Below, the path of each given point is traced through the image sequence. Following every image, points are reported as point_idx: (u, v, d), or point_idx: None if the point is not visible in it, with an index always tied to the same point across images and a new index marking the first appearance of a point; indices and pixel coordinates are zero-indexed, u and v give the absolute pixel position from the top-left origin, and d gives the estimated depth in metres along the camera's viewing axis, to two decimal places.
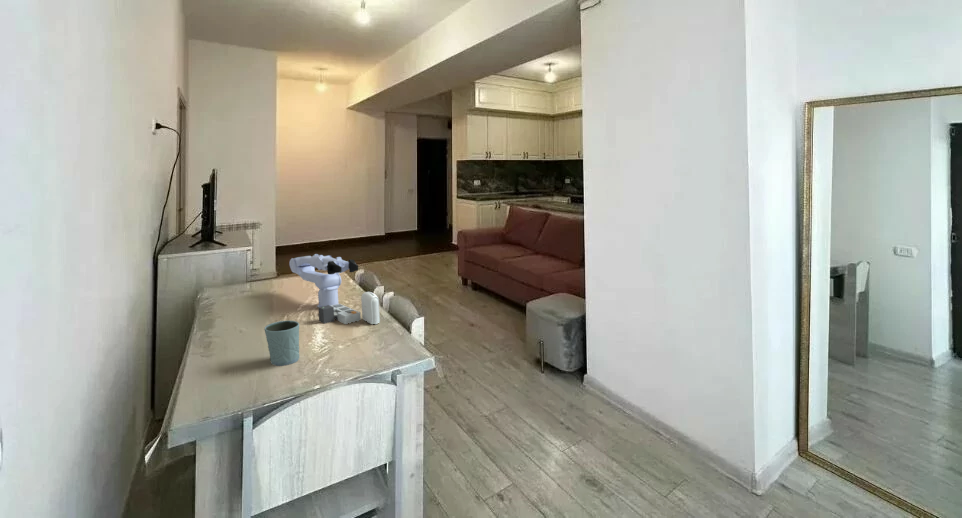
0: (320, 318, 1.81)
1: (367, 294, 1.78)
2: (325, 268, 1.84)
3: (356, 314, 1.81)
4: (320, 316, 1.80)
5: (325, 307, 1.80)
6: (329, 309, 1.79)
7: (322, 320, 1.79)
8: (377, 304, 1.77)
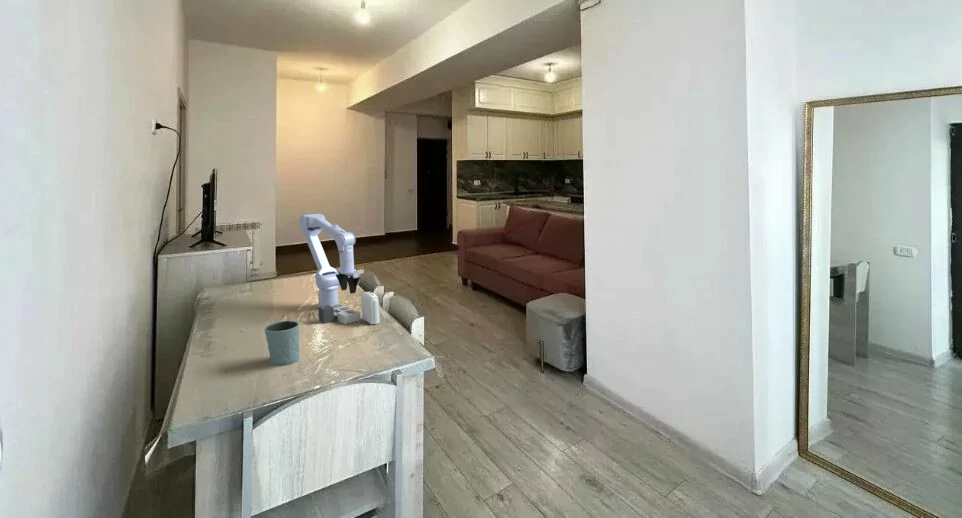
0: (320, 318, 1.81)
1: (367, 294, 1.78)
2: (355, 277, 1.84)
3: (356, 314, 1.81)
4: (320, 316, 1.80)
5: (325, 307, 1.80)
6: (329, 309, 1.79)
7: (322, 320, 1.79)
8: (377, 304, 1.77)
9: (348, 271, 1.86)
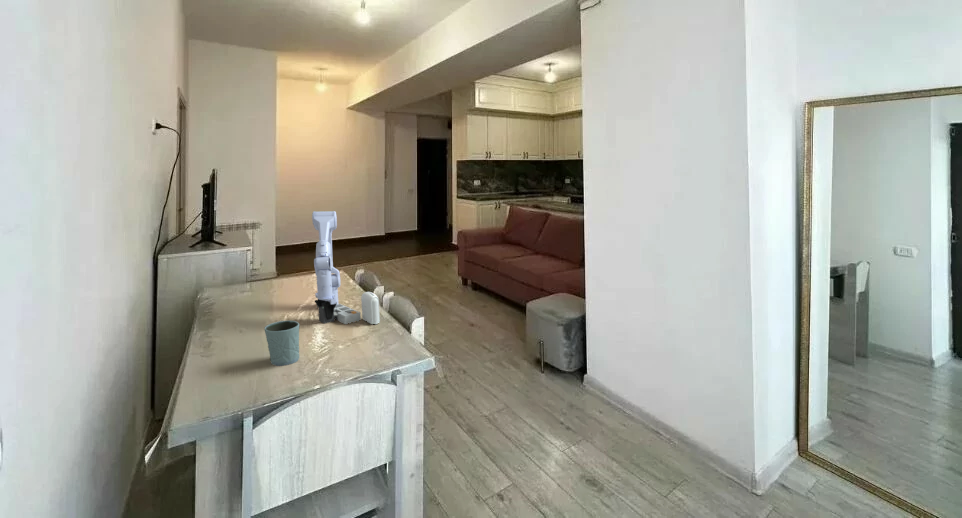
0: (320, 318, 1.81)
1: (367, 294, 1.78)
2: (332, 303, 1.75)
3: (356, 314, 1.81)
4: (320, 316, 1.80)
5: None
6: None
7: (322, 320, 1.79)
8: (377, 304, 1.77)
9: (326, 297, 1.77)
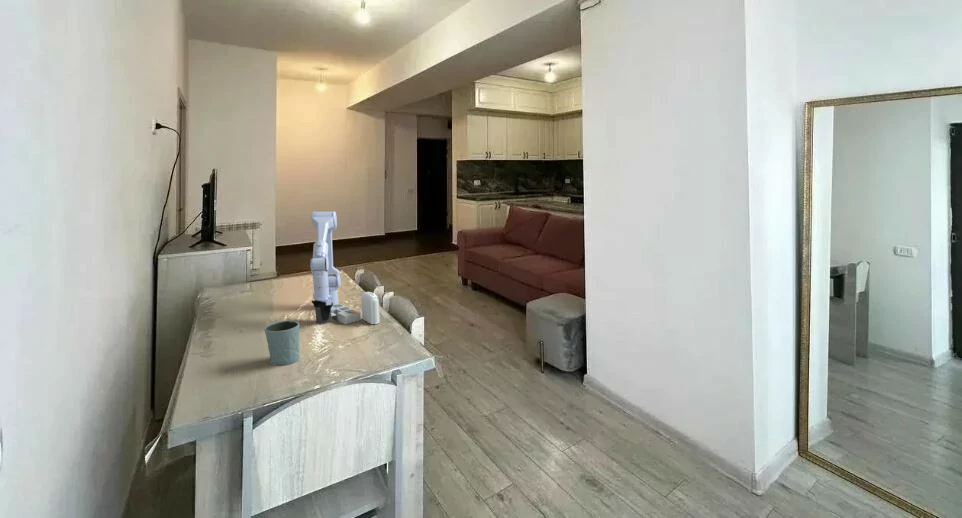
0: (317, 319, 1.80)
1: (367, 294, 1.78)
2: (328, 304, 1.74)
3: (356, 314, 1.81)
4: (317, 317, 1.79)
5: None
6: None
7: (319, 321, 1.79)
8: (377, 304, 1.77)
9: (322, 297, 1.76)
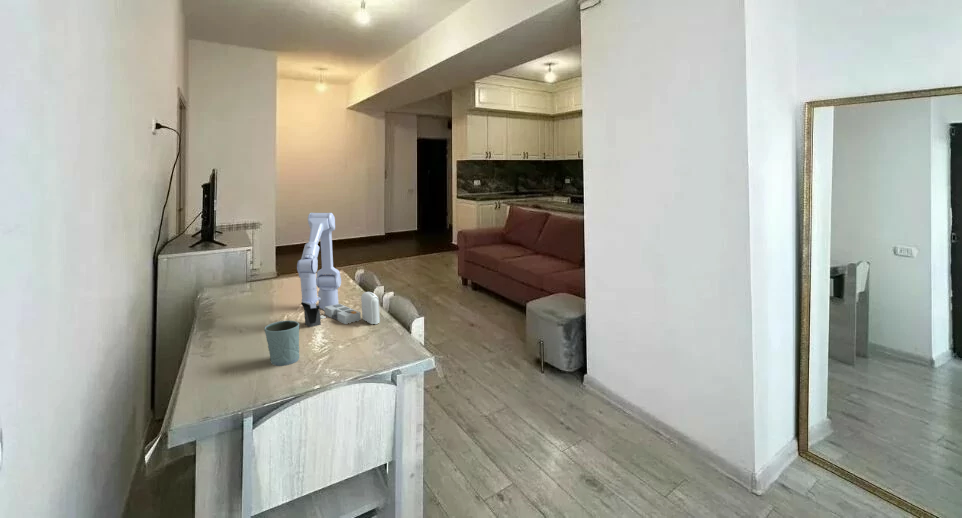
0: (306, 321, 1.76)
1: (367, 294, 1.78)
2: (312, 307, 1.70)
3: (356, 314, 1.81)
4: (306, 319, 1.76)
5: None
6: None
7: (308, 323, 1.75)
8: (377, 304, 1.77)
9: (308, 300, 1.72)
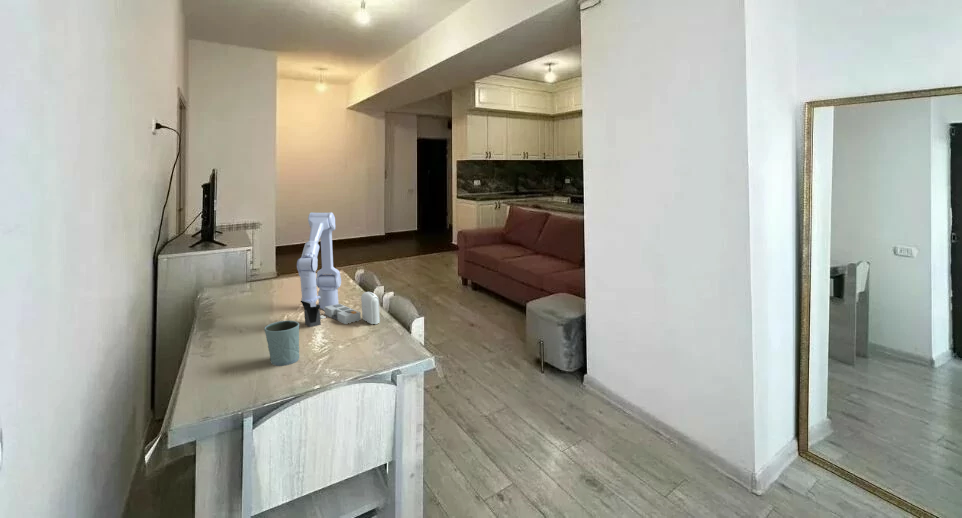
0: (306, 321, 1.76)
1: (367, 294, 1.78)
2: (312, 306, 1.70)
3: (356, 314, 1.81)
4: (306, 319, 1.76)
5: None
6: None
7: (308, 323, 1.75)
8: (377, 304, 1.77)
9: (308, 298, 1.72)
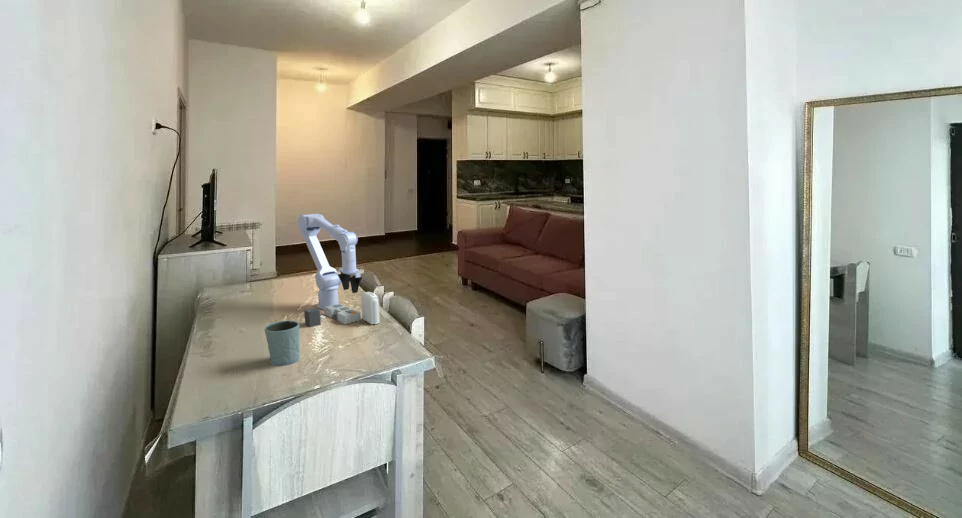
0: (306, 321, 1.76)
1: (367, 294, 1.78)
2: None
3: (356, 314, 1.81)
4: (306, 319, 1.76)
5: (311, 310, 1.76)
6: (315, 312, 1.75)
7: (308, 323, 1.75)
8: (377, 304, 1.77)
9: (350, 271, 1.87)
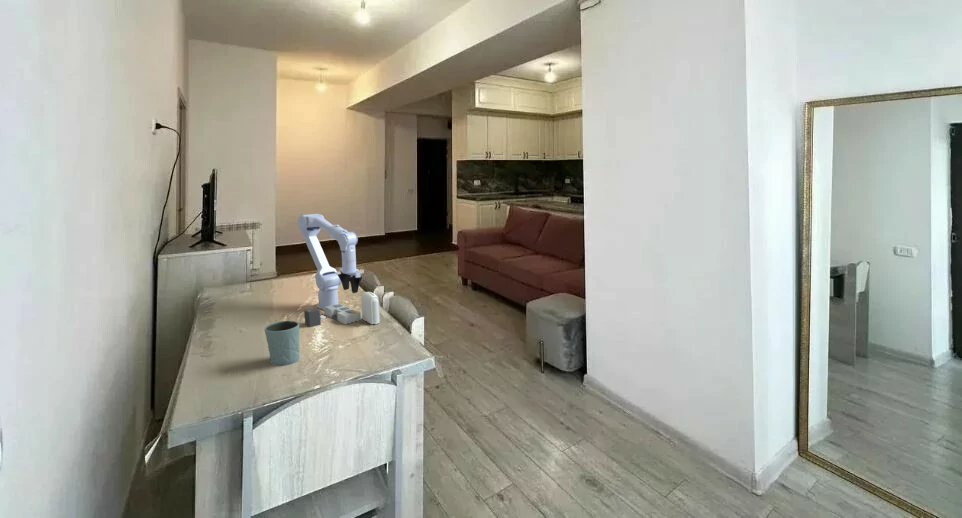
0: (306, 321, 1.76)
1: (367, 294, 1.78)
2: None
3: (356, 314, 1.81)
4: (306, 319, 1.76)
5: (311, 310, 1.76)
6: (315, 312, 1.75)
7: (308, 323, 1.75)
8: (377, 304, 1.77)
9: (350, 271, 1.87)
